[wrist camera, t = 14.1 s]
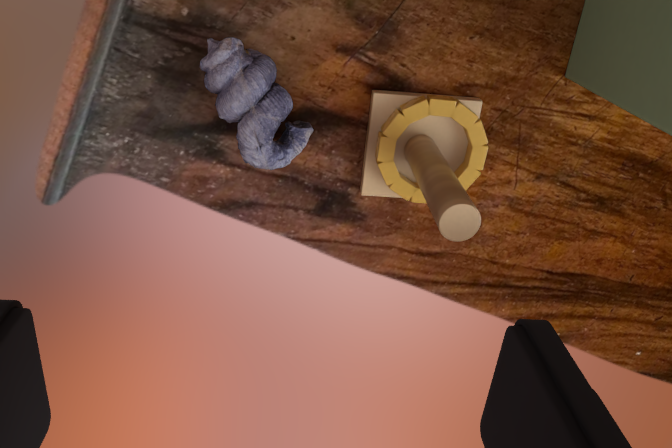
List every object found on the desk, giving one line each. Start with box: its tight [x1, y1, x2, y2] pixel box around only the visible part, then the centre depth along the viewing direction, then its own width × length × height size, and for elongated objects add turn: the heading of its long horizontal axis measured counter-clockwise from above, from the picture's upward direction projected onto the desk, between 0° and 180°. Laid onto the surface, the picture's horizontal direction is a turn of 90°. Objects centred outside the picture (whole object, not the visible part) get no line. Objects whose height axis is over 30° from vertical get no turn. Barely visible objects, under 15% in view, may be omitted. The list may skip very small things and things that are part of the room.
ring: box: [375, 95, 488, 203], centre depth 42 cm, size 8×8×1 cm
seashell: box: [200, 37, 313, 170], centre depth 39 cm, size 5×5×10 cm
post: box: [360, 90, 482, 241], centre depth 38 cm, size 8×8×13 cm
